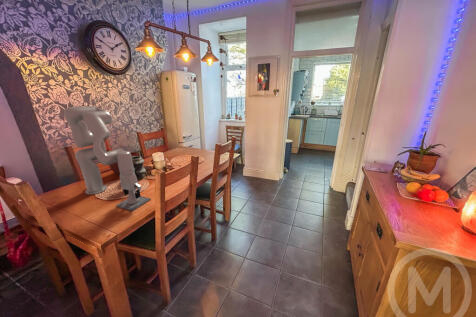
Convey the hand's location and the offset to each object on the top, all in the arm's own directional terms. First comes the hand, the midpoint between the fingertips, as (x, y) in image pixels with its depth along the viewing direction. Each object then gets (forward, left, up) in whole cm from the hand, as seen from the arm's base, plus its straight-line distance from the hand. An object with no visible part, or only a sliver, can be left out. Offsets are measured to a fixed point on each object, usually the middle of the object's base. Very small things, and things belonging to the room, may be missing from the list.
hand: (132, 196), depth 114 cm
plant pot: (-49, +33, -5) cm, 59 cm away
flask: (0, 0, -4) cm, 4 cm away
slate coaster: (0, 0, -5) cm, 5 cm away
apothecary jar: (-30, +30, -5) cm, 43 cm away
